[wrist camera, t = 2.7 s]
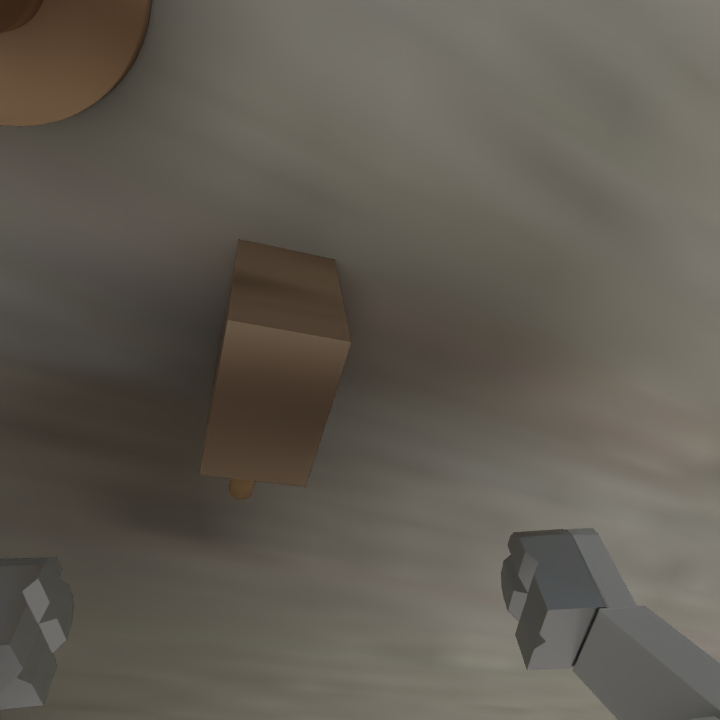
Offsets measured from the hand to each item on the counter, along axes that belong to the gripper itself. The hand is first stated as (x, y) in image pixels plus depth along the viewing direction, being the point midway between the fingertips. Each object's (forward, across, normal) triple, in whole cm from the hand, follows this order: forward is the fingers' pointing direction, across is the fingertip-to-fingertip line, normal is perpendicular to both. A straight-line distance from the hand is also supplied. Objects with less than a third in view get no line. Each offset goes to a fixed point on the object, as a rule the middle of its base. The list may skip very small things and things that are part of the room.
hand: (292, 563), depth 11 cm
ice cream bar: (+10, +1, +2) cm, 10 cm away
